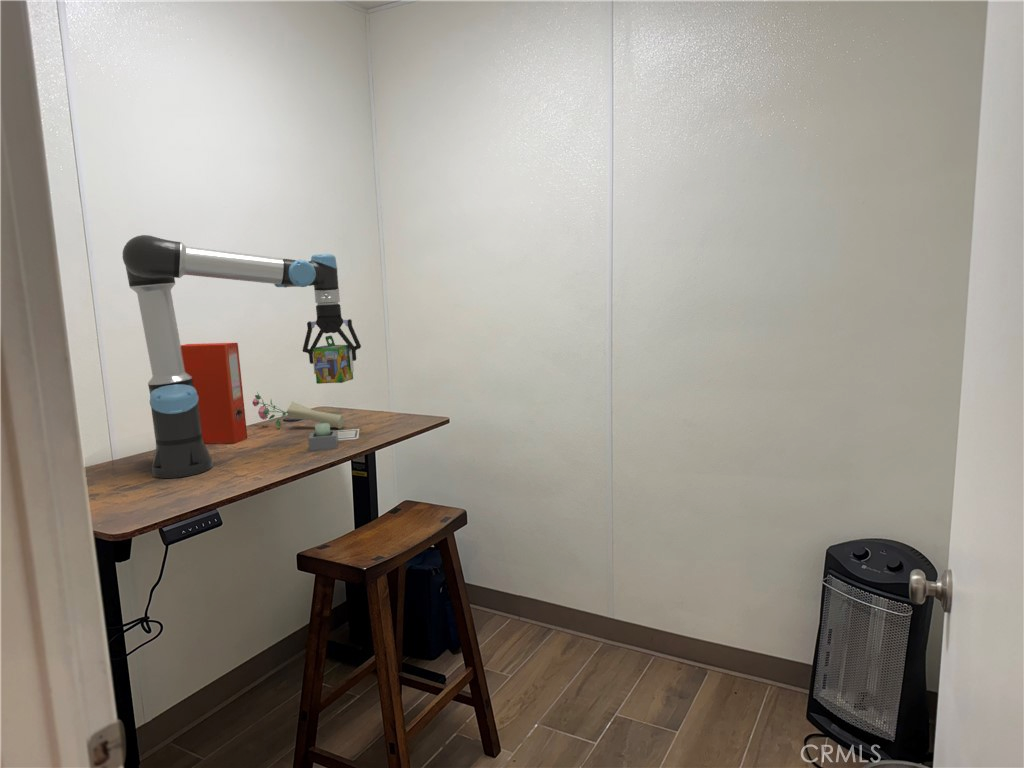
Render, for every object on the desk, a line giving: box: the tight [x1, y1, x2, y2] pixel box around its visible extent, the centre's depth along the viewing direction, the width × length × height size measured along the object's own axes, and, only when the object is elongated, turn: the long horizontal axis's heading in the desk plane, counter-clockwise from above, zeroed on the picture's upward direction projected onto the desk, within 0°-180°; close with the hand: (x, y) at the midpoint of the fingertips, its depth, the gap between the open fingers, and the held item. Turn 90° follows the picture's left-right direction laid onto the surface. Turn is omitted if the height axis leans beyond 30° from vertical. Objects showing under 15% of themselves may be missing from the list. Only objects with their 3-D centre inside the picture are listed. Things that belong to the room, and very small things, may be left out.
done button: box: [314, 422, 331, 437], centre depth 206 cm, size 4×4×4 cm
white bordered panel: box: [337, 428, 360, 442], centre depth 220 cm, size 12×14×1 cm
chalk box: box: [313, 334, 354, 385], centre depth 215 cm, size 9×9×15 cm
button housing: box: [307, 429, 339, 452], centre depth 207 cm, size 8×8×4 cm
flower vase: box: [252, 391, 346, 430], centre depth 235 cm, size 12×12×35 cm
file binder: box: [180, 342, 248, 444], centre depth 218 cm, size 8×17×32 cm, turn 81°
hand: (334, 372), depth 216 cm, fingers closed on chalk box, 11 cm apart
